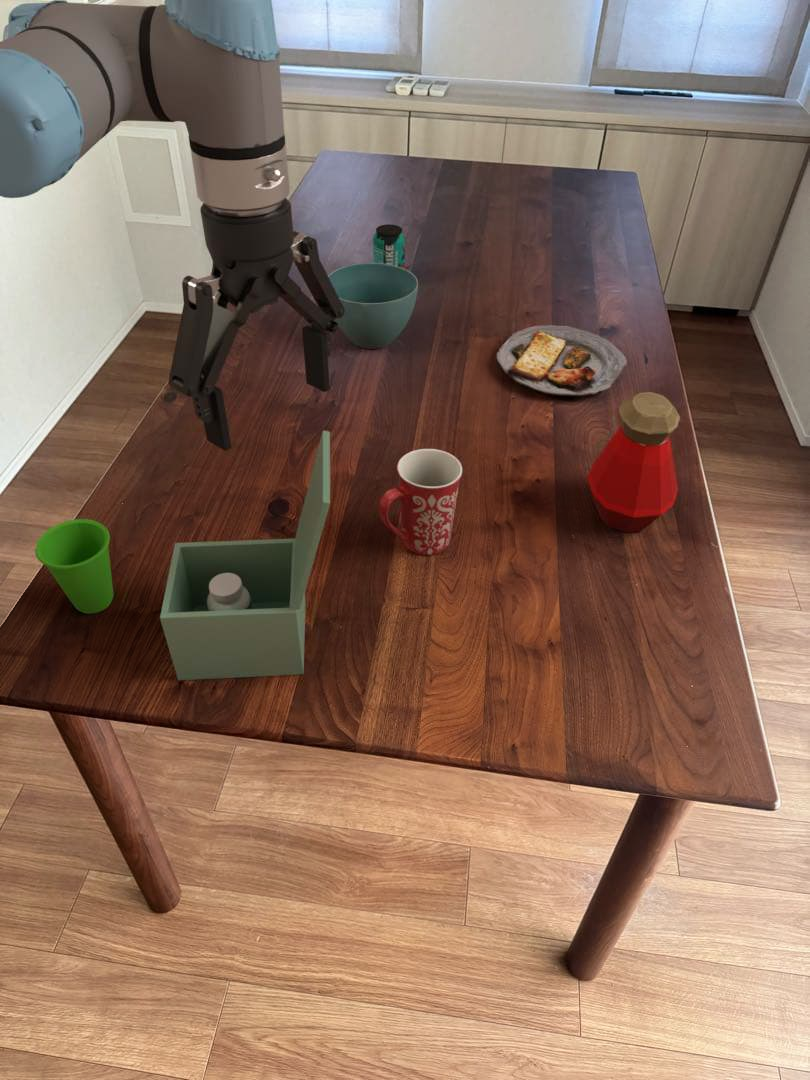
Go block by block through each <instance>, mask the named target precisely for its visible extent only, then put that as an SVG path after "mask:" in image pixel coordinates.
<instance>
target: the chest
mask: <svg viewBox="0 0 810 1080" xmlns="http://www.w3.org/2000/svg"><path fill="white" fill-rule="evenodd" d="M295 544H296V538H274V539H246V540H244V539H243V540H221V541H219V540H218V541H216V540H215V541H193V542H192V541H191V542H175V543H174V546H173V551H172V557H171V561H170V566H169V571H168V575H167V581H166V586H165V590H164V595H163V602H162V606H161V611H160V616H159V620H160V623H161V627H162V631H163V634H164V637H165V640H166V643H167V647H168V650H169V654H170V658H171V661H172V664H173V667H174V670H175V671H174V672H175V674H176V678H177V680H178V681H194V680H195V681H196V680H215V679H233V678H235V679H236V678H255V677H276V676H296V675H300V676H301V675H304V674H305V638H306V637H305V636H306V592H305V593H304V596H303V600H302V603H301V607H300V610H297V609H293V593H294V568H295ZM222 573H233V574H236V575H237V576H239V577H240V579H241V581H242V585H243V587H245V588H246V589H247V591H248V592H249V595H250V598H251V604H252V609H245V610H222V611H208V607H207V598H208V595H209V594H210V591H209V583H210V581H211V580H212V579H213V578H214V577H215V576H217V575H219V574H222Z"/></svg>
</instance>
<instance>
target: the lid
mask: <svg viewBox="0 0 810 1080" xmlns="http://www.w3.org/2000/svg"><path fill="white" fill-rule="evenodd" d="M330 435H331V433H330V431H328V430H322V432H321V436H320V440H319V444H318V448H317V451H316V455H315V460H314V463H313V466H312V470H311V475H310V479H309V482H308V487H307V490H306V494H305V498H304V501H303V505H302V509H301V513H300V518H299V521H298V524H297V525H298V526H297V529H296V533H295V539H296V544H295V568H294V593H293V609H297V610H300V607H301V603H302V600H303V596H304V593H305V594H306V589H307V586H308V582H309V579H310V576H311V571H312V568H313V564H314V561H315V558H316V553H317V550H318V547H319V544H320V541H321V537H322V534H323V530H324V527H325V523H326V519H327V515H328V512H329V509H330V505H331V440H330V439H331V437H330Z"/></svg>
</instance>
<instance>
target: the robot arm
mask: <svg viewBox="0 0 810 1080" xmlns="http://www.w3.org/2000/svg"><path fill="white" fill-rule="evenodd" d="M7 23H8V24H6V25H5V26H4V28H3V35H2V40H1V41H0V197H1V198H2V197H3V198H6V199H19V198H25V197H28V196H31V195H34V194H37V193H38V192H39V191H41V190H42V189H44V188H46V187H48V186H51V185H54V184H56V183H57V182H59V181H61V180H62V179H63V178H64V177H65V176H67V174H68V173H69V172H70V171H71V170H72V168H73V167H74V165H75V164H76V163H77V162H78V161H79V160H80V159H82V157H83V156H85V155H86V154H87V153H88V152H89V151H90V150H91V149H92V148H94V146H95V145H96V144H98V143H99V141H100V140H102V139H103V138H104V137H106V136H107V135H108V134H109V133H110V132H111V131H113V129H115V128H116V127H117V126H118V125H119V124H120V123H122V122H158V123H159V122H161V123H176V122H181V123H184V124H185V127H186V130H187V133H188V143H189V147H190V156H191V163H192V169H193V175H194V176H193V177H194V183H195V189H196V196H197V198H198V199H199V201H200V202H202V204H201V206H200V209H199V210H200V217H201V222H202V223H201V224H202V229H203V236H204V242H205V247H206V248H207V251H208V253H209V255H210V257H211V260H212V265H211V266H212V268H211V271H210V275H207V276H203V277H200V278H196V277H193V276H191V275H186V276H185V277H183V279H182V282H181V288H182V297H183V298H182V299H183V306H182V311H181V317H180V321H179V326H178V331H177V335H176V341H175V346H174V351H173V355H172V361H171V366H170V370H169V371H170V372H169V377H168V383H167V384H168V386H169V387H170V388H172V389H173V390H176V391H177V392H179V393H181V394H182V395H184V396H186V397H188V398H192V404H193V408H194V414H195V416H196V418H197V419H199V420H200V421H202V422H203V425H204V431H205V436H206V441H207V442H209V443H210V444H213V445H215V446H216V447H218V448H219V449H221V450H223V451H225V452H227V451H229V450H230V449H232V448H233V447H232V441H231V436H230V435H231V434H230V429H229V423H228V419H227V418H228V417H227V411H226V405H225V400H224V394H223V390H222V388H220V387H218V386H216V384H217V382H218V381H219V380H218V379H219V377H220V375H221V373H222V370H223V367H224V365H225V363H226V361H227V358H228V356H229V354H230V351H231V349H232V346H233V344H234V342H235V339H236V337H237V335H238V332H239V329H240V327H242V326H244V325H246V323H247V321H248V319H249V316H250V314H254V313H257V312H259V311H260V310H262V309H263V308H264V307H265V306H271V305H274V304H276V303H278V301H279V300H278V299H279V298H281V299H282V300H283V301H284V302H285V303H286V304H288V306H290V307H291V308H292V309H293V310H294V311H295V312H296V313H297V314H298V315H300V316H301V317H302V318H303V319H304V320H305V321H306V322H308V323H309V324H310V325H309V324H306V325H305V326H303V327H302V328H301V333H302V334H301V335H302V344H303V345H302V346H303V357H304V369H305V370H304V371H305V380H306V385H308V386H310V387H313V388H315V389H317V390H319V391H321V392H323V393H327V392H328V391H330V389H331V387H330V372H329V357H330V356H331V352H332V346H331V334H335V333H336V332H337V331H338V329H339V326H338V323H337V322H336V321H335V319H336V318H339V319H340V318H342V317H343V315H344V313H345V310H344V307H343V305H342V303H341V301H340V299H339V297H338V295H337V293H336V291H335V289H334V287H333V285H332V283H331V281H330V279H329V277H328V275H329V274H327V272H326V270H325V267H324V265H323V263H322V262H321V259H320V254H319V249H318V248H319V247H318V241H317V239H316V238H314V237H311V236H309V235H306V234H304V233H301V232H299V231H296V230H294V226H293V225H294V224H293V214H292V213H293V212H292V204H291V202H290V201H289V200H288V198H287V197H288V196H289V195H290V181H289V180H290V179H289V169H288V158H287V157H288V155H287V144H286V134H285V125H284V124H285V123H284V110H283V96H282V95H283V94H282V81H281V79H282V78H281V65H280V64H281V63H280V61H281V60H280V55H281V50H280V49H281V47H280V45H279V44H278V39H277V33H276V32H277V31H276V24H275V17H274V9H273V1H272V0H164V2H163V4H159V5H149V6H147V5H146V6H145V5H125V4H124V5H123V4H105V3H104V4H103V3H84V2H83V3H82V2H68V1H67V0H51V1H50V2H27V3H21V4H19V5H17V6H15V7H14V8H13V9H11V11H10V13H9V14H8V21H7ZM293 263H294V265H295V266H296V268H297V270H298V272H299V274H300V276H301V277H302V279H303V281H304V283H305V285H306V287H307V288H308V290H309V292H310V294H311V296H312V298H313V300H314V301H313V300H312V299H311V298H309V296H307V294H306V293H305V292H304V291H302V288H301V286H299V284H297V283H296V282H295V280H294V279H292V277H290V276H289V274H290V271H291V268H292V266H293ZM315 302H316V303H315ZM228 304H230V305H231V306H232V307H234V308H235V310H234V311H231V310H229V309H228Z"/></svg>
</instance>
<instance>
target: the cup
mask: <svg viewBox="0 0 810 1080" xmlns="http://www.w3.org/2000/svg"><path fill="white" fill-rule="evenodd" d="M110 539H111V536H110V531H109V530H108V529H107V527H106V526H105V525H103V524H102V523H101V522H98V521H96V520H94V519H89V518H88V519H87V518H76V519H70V520H67V521H63V522H59V523H58V524H55V525H54V526H52V527H51V528H49V529H47V530H46V531H45V532H44V533H42V535H41V536H40V537H39V539H38V540H37V542H36V545H35V557H36V558H37V560H38V561H39V562H40V563H41V564H42V565H44V566H45V567H46V568H47V570H48V572H49V573H50V574H51V576H53V578H54V579H55V581H56V582H57V584H58V585H59V587H60V588H61V590H62V591H63V592H64V594H65V595H66V597H67V598H68V600H69V601H70V603H71V604H72V605H73V607H74V608H75V609H76V610H77V611H79V612H81V613H82V614H88V615H89V614H96V613H97V614H98V613H100V612H103V611H104V610H106V609H108V607H109V606H110V605H111V603H112V601H113V598H114V586H113V576H112V567H111V559H110V551H109V550H110V549H109V548H110V547H109V544H110Z"/></svg>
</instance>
